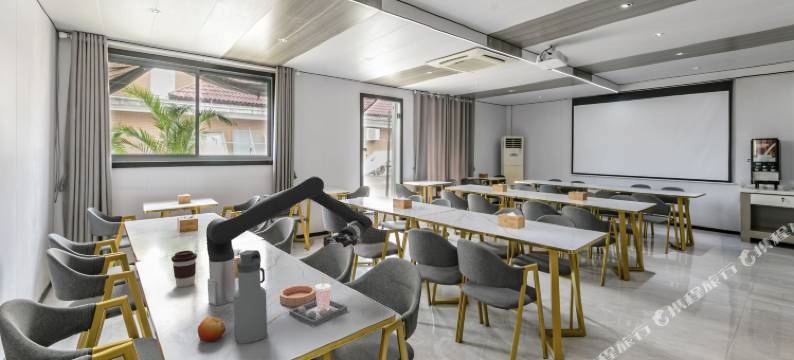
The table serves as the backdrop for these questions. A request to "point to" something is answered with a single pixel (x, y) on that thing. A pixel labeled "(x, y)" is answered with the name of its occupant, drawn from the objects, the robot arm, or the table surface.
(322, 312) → the pebble
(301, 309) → the pebble
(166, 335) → the table surface
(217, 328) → the fruit
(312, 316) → the pebble
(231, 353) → the table surface
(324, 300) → the beverage cup
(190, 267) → the coffee cup
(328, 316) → the tray
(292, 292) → the bowl
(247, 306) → the water bottle
